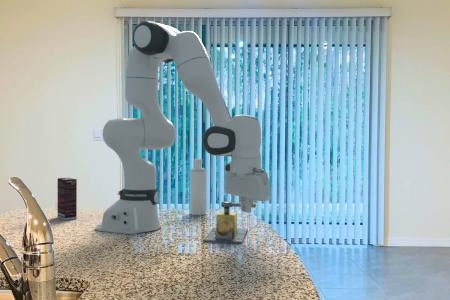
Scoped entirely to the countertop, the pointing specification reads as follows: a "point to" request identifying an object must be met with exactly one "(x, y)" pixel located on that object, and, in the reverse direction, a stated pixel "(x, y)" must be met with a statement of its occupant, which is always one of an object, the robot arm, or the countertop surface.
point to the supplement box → (67, 198)
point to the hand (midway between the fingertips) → (246, 211)
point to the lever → (233, 204)
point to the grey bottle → (198, 189)
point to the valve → (226, 229)
